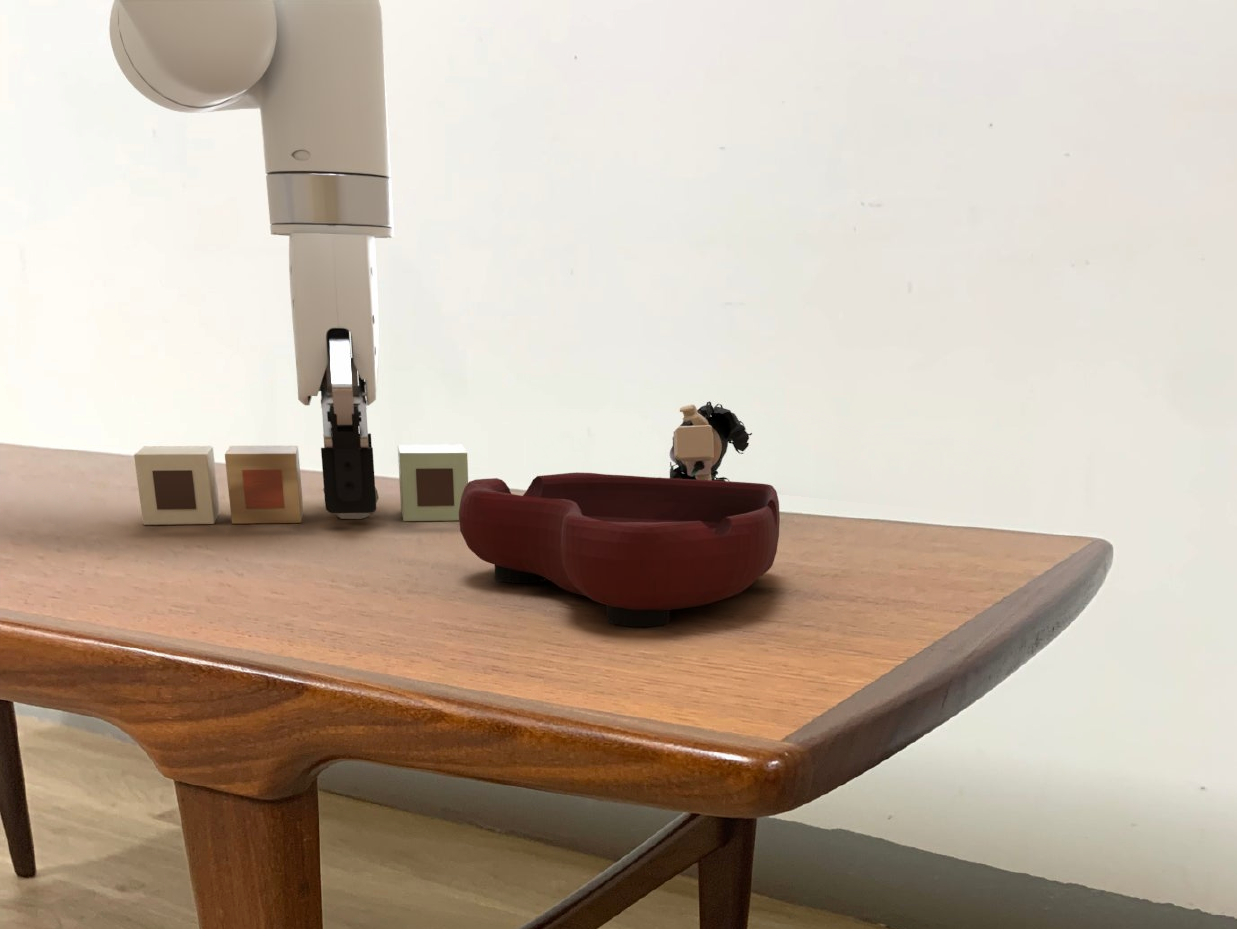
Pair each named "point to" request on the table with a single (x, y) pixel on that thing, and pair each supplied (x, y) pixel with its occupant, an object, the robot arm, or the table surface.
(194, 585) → the table surface
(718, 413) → the toy figure
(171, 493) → the block
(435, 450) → the block
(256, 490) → the block
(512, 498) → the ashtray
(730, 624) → the table surface
